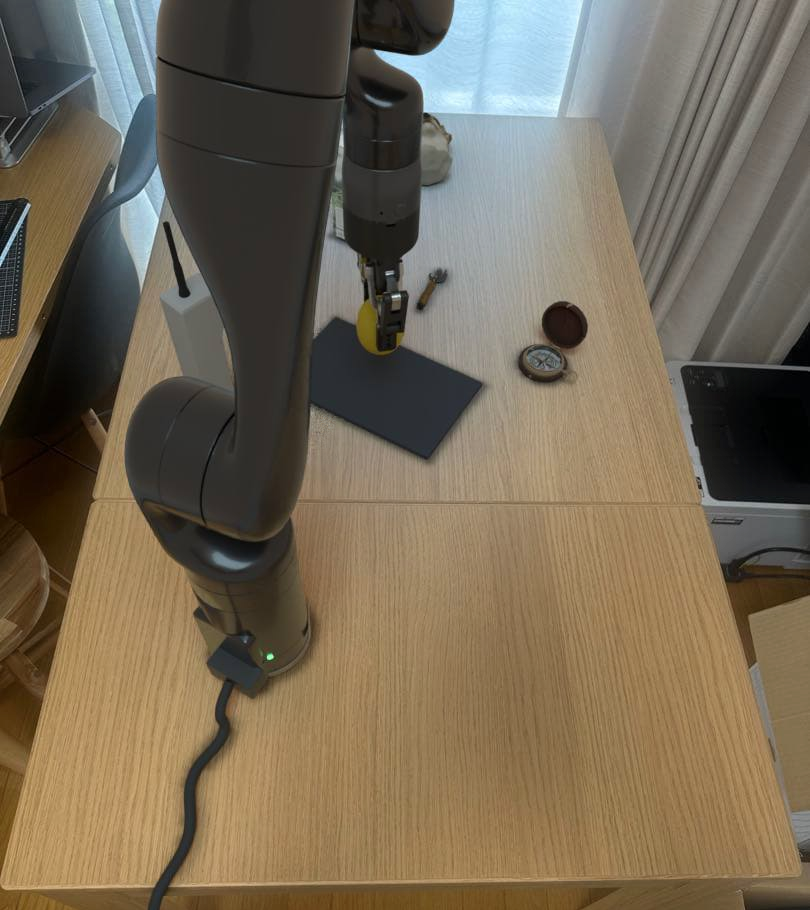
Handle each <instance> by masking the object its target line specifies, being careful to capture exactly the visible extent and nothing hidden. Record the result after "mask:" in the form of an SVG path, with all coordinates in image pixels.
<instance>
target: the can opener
mask: <svg viewBox="0 0 810 910" xmlns="http://www.w3.org/2000/svg"><path fill="white" fill-rule="evenodd" d="M442 271H443V268H442V267H438V268H437V270H436V272H435V274H434V276H432V275H433V272H429V274H428V275H427V277H428V279H429V280H430V281H429V282H428V283H427V285H426V287H425V289H424V290H423V292H422V293H421V295H420V296H419V298H418V300H417V302H416V308H417V309H419V310H422V309H424V308H425V306H426V305H427V304H428V301H429V300H430V297H431V295H432V293H433V291H434V290H435V288H436V285H437V283H444V282H445V281H446V280H447V278H448V275H449V273H448V270H447V269H445V270H444V271H443V272H442Z"/></svg>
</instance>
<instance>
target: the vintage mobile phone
mask: <svg viewBox="0 0 810 910" xmlns="http://www.w3.org/2000/svg"><path fill="white" fill-rule="evenodd" d="M162 227H163V230H164V233H165V239H166V241H167V245H168V248H169V252H170V256H171V260H172V269H173V272H174V275H175V279H176V283H177V284H175V285H173V286H171V287H169V288H168V289H166V290H165V291H163V292H161V293H160V294H159V298H158V299H159V301H160V305H161V308H162V311H163V314H164V318H165V321H166V324H167V327H168V330H169V334H170V338H171V341H172V345H173V347H174V351H175V353H176V358H177V361H178V364H179V367H180V371H181V374H182V376H188V377H193V378H197V379H200V380H203V381H205V382H208V383H211V384H214V385H217V386H220V387H222V388H225V389H228V390H231V391H233V392H234V382H233V379H232V375H231V371H230V367H229V362H228V357H227V352H226V348H225V343H224V340H223V335H224V331H225V329H224V326H223V323H222V320H221V317H220V315H219V312H218V310H217V308H216V305H215V303H214V300H213V298H212V296H211V293H210V291H209V289H208V287H207V285H206V283H205V281H204V279H203V277H202V275H201V273H200V272H195V273H193V274H192V275H190V276H188V277H185V273H184V269H183V266H182V264H181V262H180V259H179V255H178V251H177V248H176V243H175V239H174V236H173V232H172V228H171V223H170V222H169V220H168V221H167V220H166V221H163V222H162Z"/></svg>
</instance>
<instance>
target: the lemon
mask: <svg viewBox="0 0 810 910" xmlns="http://www.w3.org/2000/svg"><path fill="white" fill-rule="evenodd" d="M376 297H382V295H377V296H376ZM375 321H376V317H375V308H373V307H372V305H371V304H370V302H369V299H368V300H366V301H365V302H364V301H363V303H362V305H361V306H360V308H359V310H358V314H357V318H356V322H355V323H356V325H355V326H356V328H357V335H358V338H359V340H360V343H361V344H362V346H363V347H364V348H365V349H366V350H368V351H369V352H371V353H373V354H377V355H385V354H388V353H391V352H392V351H394V350H395V349H396V348H397V347H398V346H399V345H400V346H401V343H402V341H403V339H404V336H405V331H404V333H397V344H396V348H395V349H394V350H390V351H383V352H379V351H378V350H377V347H376V324H375Z"/></svg>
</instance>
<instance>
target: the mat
mask: <svg viewBox="0 0 810 910" xmlns="http://www.w3.org/2000/svg"><path fill="white" fill-rule="evenodd" d="M482 387H483V382H482V381H480V380H478V379H475V378H473V377H471V376H468V375H467V374H464V373H462V372H459V371H458V370H456V369H453V368H451V367H449V366H446V365H445V364H442V363H439V362H437V361H435V360H433V359H431V358H430V357H429V358H428V357H427V356H424V355H422V354H420V353H417V352H415V351H413V350H411V349H409V348H406V347H404V346H402V345H401V344H400V345H399V346H398V347H397V348H396V349H395V350H394V351H392V352H391V353H388V354H385V355H377V354H373V353H371V352H369V351H368V350H366V349H365V348H364V347H363V346H362V344H361V343H360V340H359V338H358V335H357V328H356V325H355V324H353V323H351V322H349V321H346V320H345V319H342V318H340V317H338V316H334V318H333V319H331V321H330V322H329V323H328V324H327V325H326V326H325V327H324V328H323V329H322V330H321V331H320V332H319V333H318V335H316V337H315V338H313V359H312V383H311V404H312V405H313V406H315V407H318V408H320V409H322V410H324V411H325V412H328V413H330V414H332V415H334V416H336V417H337V418H340V419H342V420H344V421H346V422H349V424H350V423H351V424H353V425H355V426H357V427H359V428H360V429H363V430H365V431H367V432H369V433H371V434H373V435H375V436H378V437H379V438H381V439H383V440H385V441H388V442H389V443H391V444H393V445H395V446H397V447H400V448H402V449H404V450H406V451H408V452H410V453H412V454H414V455H417V456H418V457H420V458H422V459H424V460H426V461H428V460H429V458H430V457H431V456H432V455H433V453H434V451H435V450H436V449H437V448H438V447H439V445H440V444H441V442H442V441H443V440H444V439H445V437H446V436H447V434H448V433H449V432H450V430H451V429H452V427H453V426H454V424H456V422H457V420H458V419H459V418H460V416H461V415H462V413H463V412H464V411H465V409H466V408H467V407H468V405H469V404H470V403H471V401H472V400H473V399H474V397H475V396H476V395H477V393H478V392H479V391H480V389H481V388H482Z"/></svg>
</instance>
